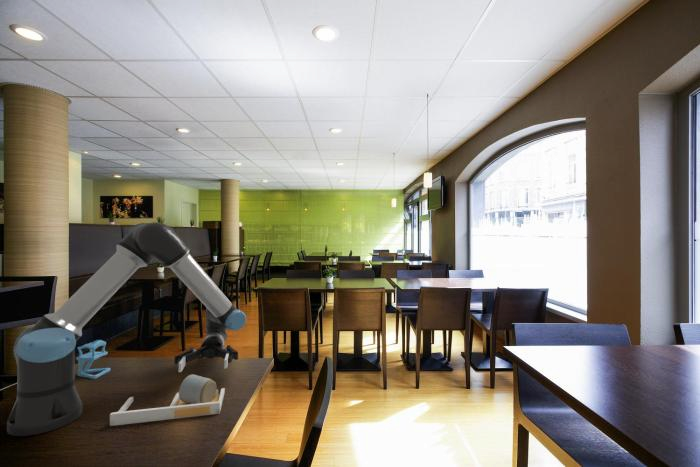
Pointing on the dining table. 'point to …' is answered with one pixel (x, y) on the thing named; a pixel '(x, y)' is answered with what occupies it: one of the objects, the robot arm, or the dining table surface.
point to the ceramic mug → (197, 389)
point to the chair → (91, 359)
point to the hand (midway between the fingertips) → (203, 366)
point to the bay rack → (166, 411)
